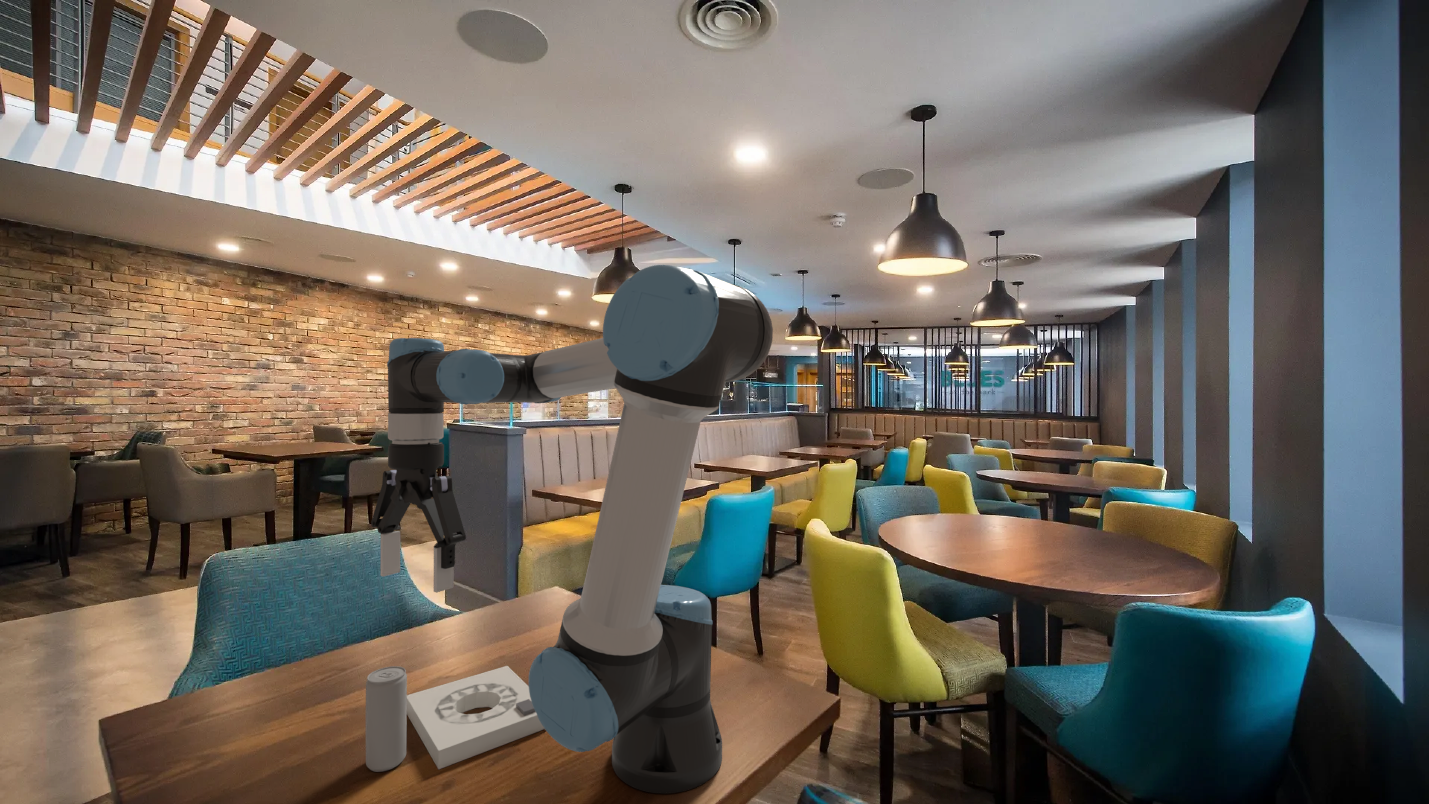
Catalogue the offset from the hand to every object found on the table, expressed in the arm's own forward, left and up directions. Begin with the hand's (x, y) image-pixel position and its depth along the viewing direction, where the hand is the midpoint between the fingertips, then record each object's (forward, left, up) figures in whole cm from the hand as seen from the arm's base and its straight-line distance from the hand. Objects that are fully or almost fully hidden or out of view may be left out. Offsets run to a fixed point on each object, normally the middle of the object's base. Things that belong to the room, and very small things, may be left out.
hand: (416, 581), depth 88 cm
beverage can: (-8, +6, -21) cm, 24 cm away
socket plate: (-5, -7, -21) cm, 23 cm away
